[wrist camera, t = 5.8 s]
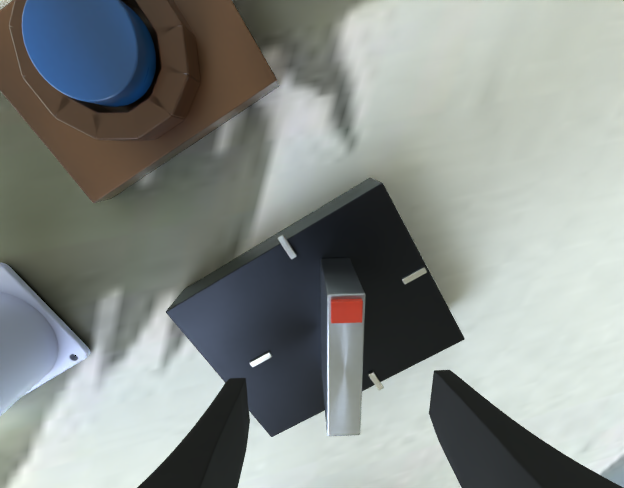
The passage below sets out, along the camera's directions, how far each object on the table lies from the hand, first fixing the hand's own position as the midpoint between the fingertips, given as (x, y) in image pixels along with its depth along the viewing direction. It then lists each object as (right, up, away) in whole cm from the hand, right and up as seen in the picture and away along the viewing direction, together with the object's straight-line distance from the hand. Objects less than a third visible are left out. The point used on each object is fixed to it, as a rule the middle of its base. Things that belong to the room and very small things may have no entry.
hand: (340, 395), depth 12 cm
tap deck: (-1, +2, +9) cm, 10 cm away
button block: (-10, +15, +5) cm, 19 cm away
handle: (0, +1, +6) cm, 6 cm away
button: (-10, +14, +2) cm, 18 cm away
